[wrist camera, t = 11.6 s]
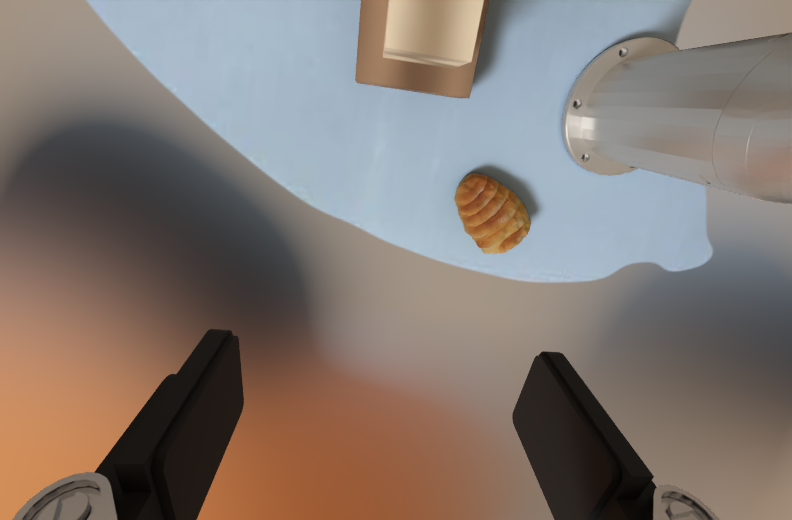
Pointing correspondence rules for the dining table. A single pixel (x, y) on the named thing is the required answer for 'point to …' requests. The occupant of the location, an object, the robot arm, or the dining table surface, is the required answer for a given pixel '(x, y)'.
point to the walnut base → (405, 73)
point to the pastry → (491, 213)
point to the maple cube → (432, 31)
